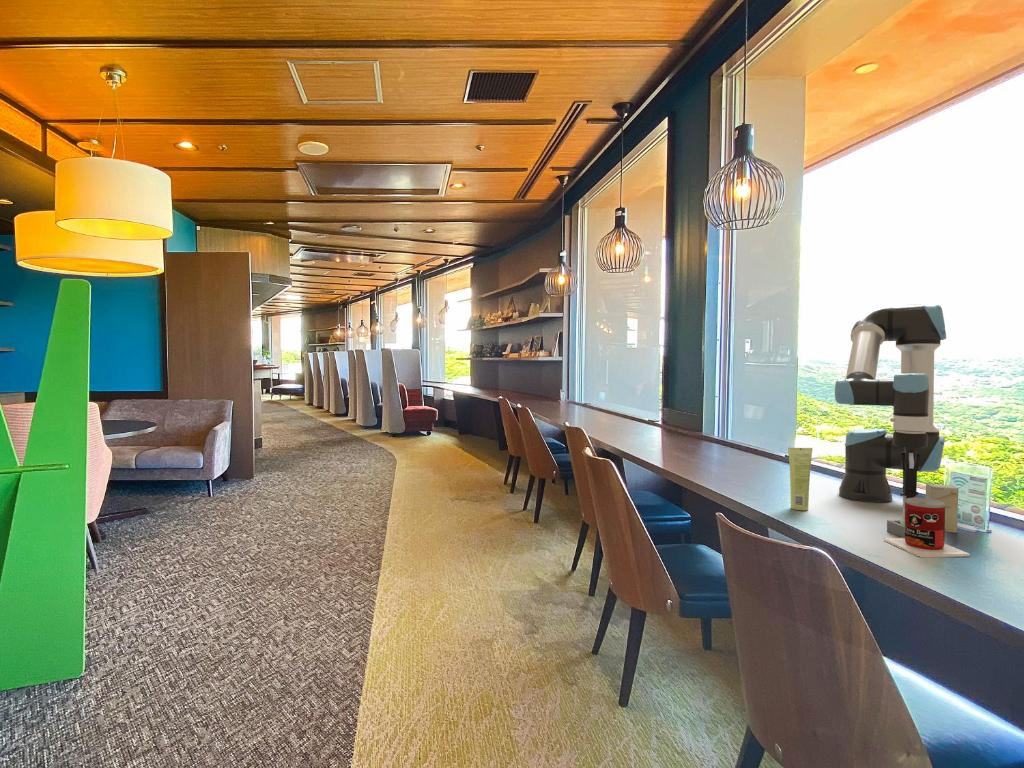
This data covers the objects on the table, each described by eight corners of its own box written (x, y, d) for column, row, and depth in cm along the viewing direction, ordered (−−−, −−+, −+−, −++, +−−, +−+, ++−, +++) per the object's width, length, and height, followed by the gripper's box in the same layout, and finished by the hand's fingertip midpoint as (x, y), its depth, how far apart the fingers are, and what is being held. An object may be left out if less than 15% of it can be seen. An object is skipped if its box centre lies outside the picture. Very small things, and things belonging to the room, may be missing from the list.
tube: (795, 505, 173) (795, 445, 172) (812, 508, 169) (812, 447, 168) (787, 508, 169) (787, 447, 168) (804, 512, 165) (804, 449, 164)
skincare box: (930, 530, 145) (930, 486, 145) (924, 526, 149) (924, 483, 149) (958, 533, 143) (959, 488, 143) (951, 528, 147) (952, 484, 147)
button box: (912, 530, 146) (912, 519, 145) (932, 539, 139) (933, 527, 138) (886, 531, 145) (887, 520, 145) (906, 539, 138) (906, 528, 138)
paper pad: (928, 539, 138) (928, 537, 138) (969, 556, 126) (969, 553, 126) (883, 540, 138) (883, 538, 138) (920, 557, 126) (920, 554, 126)
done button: (910, 529, 144) (911, 518, 144) (922, 534, 140) (922, 523, 140) (896, 530, 144) (896, 519, 144) (907, 534, 140) (908, 523, 140)
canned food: (897, 542, 134) (898, 499, 134) (917, 538, 137) (918, 496, 137) (931, 552, 127) (931, 506, 127) (951, 547, 130) (952, 503, 130)
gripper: (891, 428, 149) (890, 511, 150) (894, 433, 138) (892, 523, 139) (925, 429, 145) (924, 515, 145) (930, 435, 134) (929, 528, 135)
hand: (909, 519), depth 142 cm, fingers closed
